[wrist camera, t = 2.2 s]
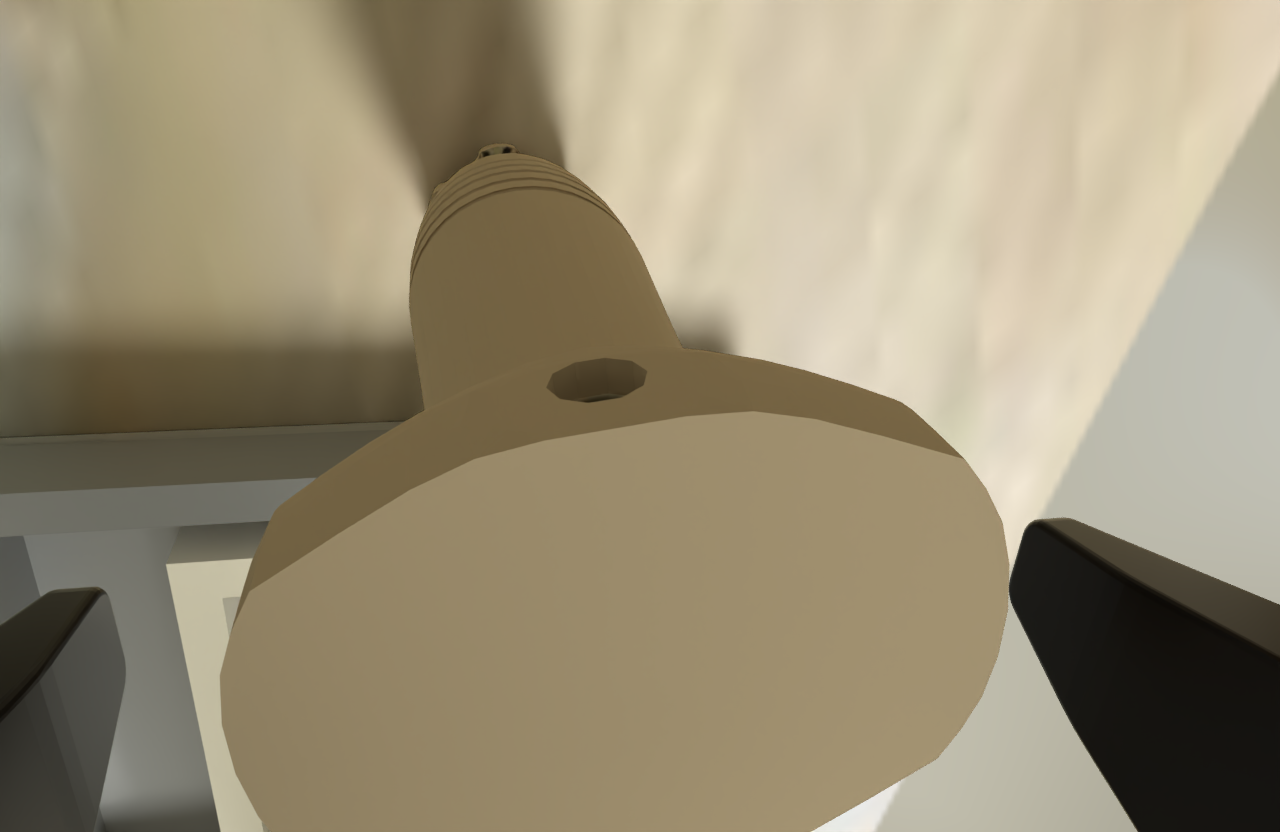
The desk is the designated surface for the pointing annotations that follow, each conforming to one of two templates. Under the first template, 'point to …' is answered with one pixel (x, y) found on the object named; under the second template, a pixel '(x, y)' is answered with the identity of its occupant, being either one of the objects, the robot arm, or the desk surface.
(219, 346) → the desk surface
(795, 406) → the handle
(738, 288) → the desk surface
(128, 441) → the walled box
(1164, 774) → the robot arm
